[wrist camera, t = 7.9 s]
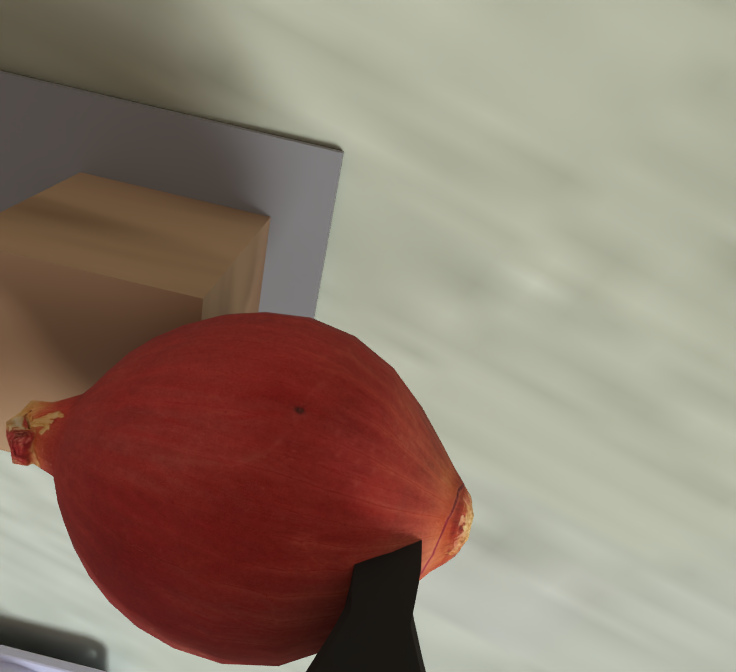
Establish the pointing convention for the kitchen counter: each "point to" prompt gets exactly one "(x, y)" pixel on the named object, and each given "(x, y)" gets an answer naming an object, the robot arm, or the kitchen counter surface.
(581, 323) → the kitchen counter surface
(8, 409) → the walnut block
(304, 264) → the letter mat
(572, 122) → the kitchen counter surface
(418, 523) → the onion
